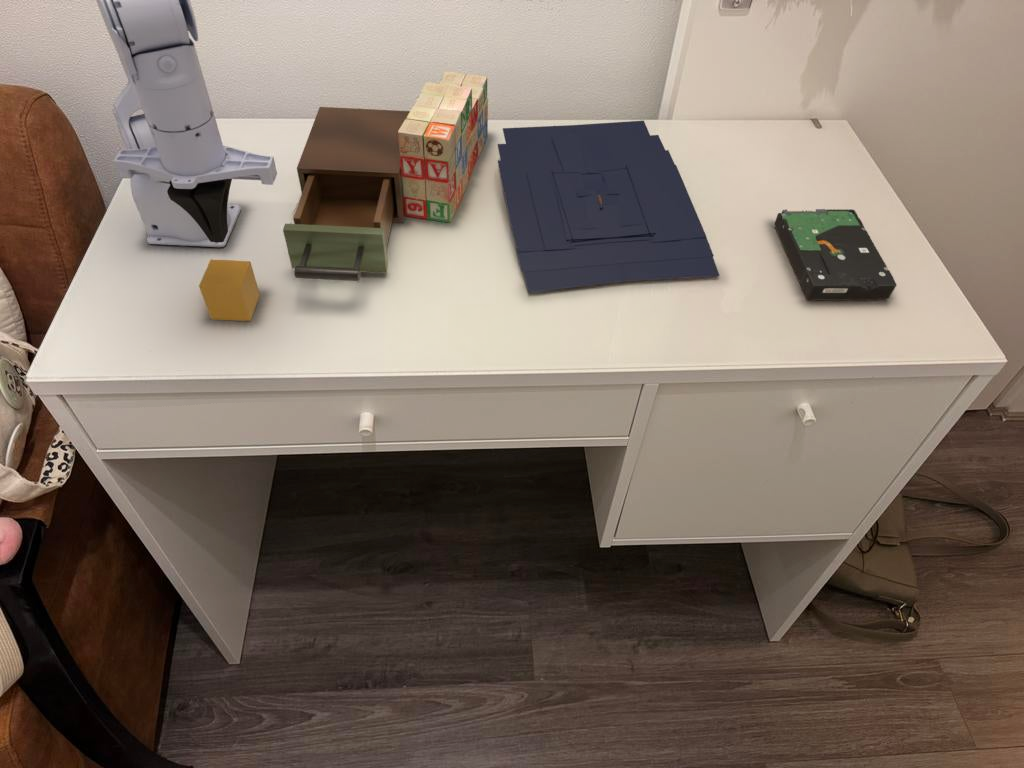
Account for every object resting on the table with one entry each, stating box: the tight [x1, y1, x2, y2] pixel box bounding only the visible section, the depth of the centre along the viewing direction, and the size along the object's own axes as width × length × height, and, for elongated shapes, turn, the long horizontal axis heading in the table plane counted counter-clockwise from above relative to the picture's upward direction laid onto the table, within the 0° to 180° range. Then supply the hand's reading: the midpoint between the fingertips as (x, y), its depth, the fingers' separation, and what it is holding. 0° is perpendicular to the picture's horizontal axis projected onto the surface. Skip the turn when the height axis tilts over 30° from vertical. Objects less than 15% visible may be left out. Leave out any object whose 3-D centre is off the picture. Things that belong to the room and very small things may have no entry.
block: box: [198, 259, 261, 322], centre depth 83 cm, size 4×4×5 cm
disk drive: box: [774, 208, 897, 301], centre depth 93 cm, size 10×3×15 cm
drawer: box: [282, 173, 396, 282], centre depth 89 cm, size 19×11×6 cm, turn 179°
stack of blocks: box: [398, 70, 489, 224], centre depth 99 cm, size 21×6×12 cm, turn 168°
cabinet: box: [296, 106, 411, 224], centre depth 98 cm, size 14×12×7 cm
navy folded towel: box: [497, 120, 721, 294], centre depth 98 cm, size 24×30×4 cm
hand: (219, 236), depth 78 cm, fingers closed
